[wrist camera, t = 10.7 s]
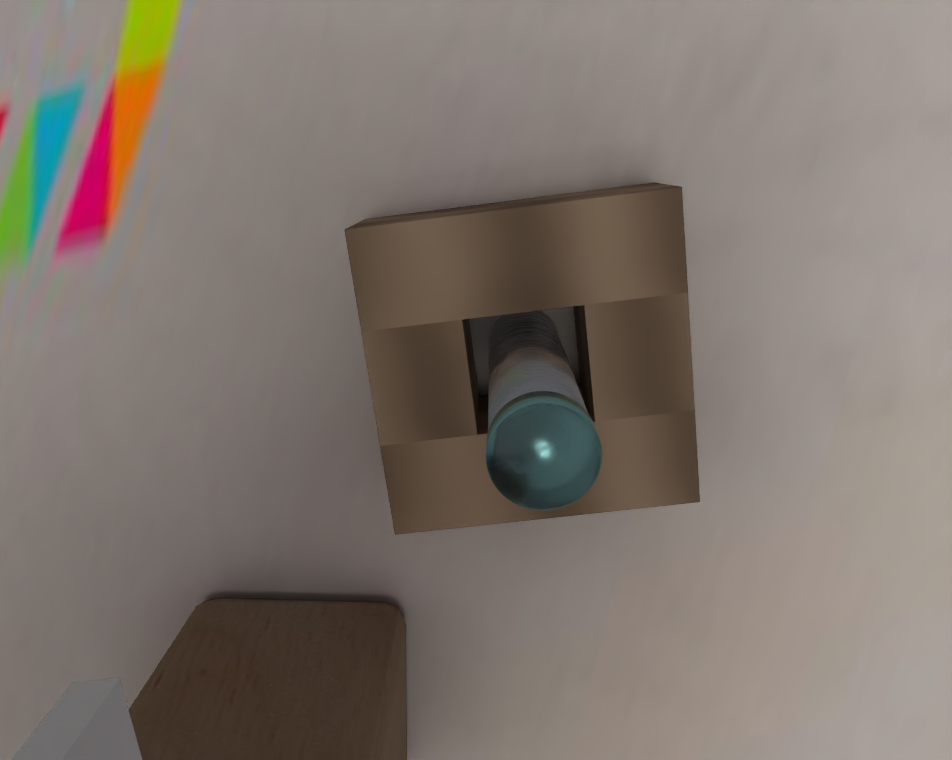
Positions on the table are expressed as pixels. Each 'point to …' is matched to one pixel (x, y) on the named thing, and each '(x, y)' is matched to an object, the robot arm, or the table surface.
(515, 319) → the peg
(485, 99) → the table surface
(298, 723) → the wooden block
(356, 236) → the socket block
